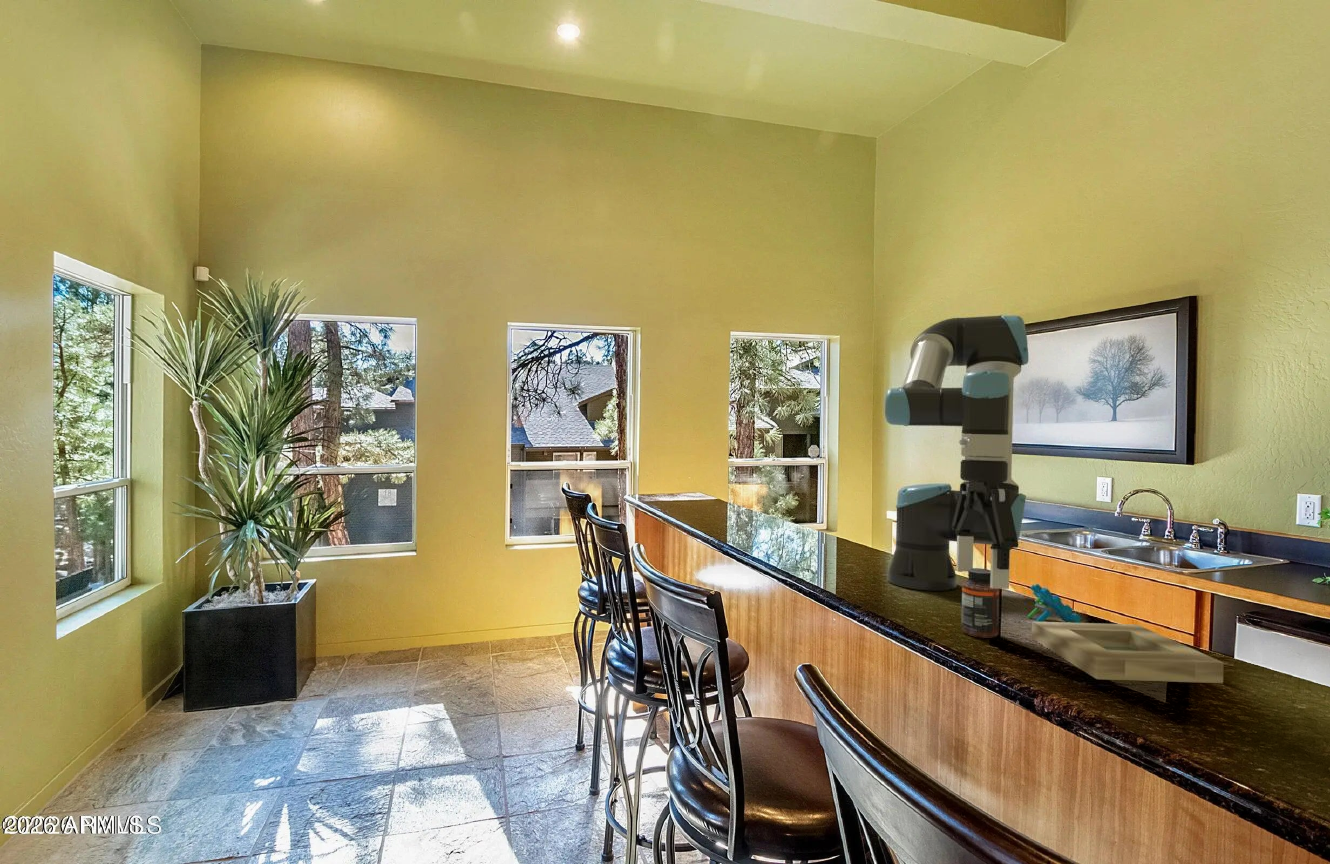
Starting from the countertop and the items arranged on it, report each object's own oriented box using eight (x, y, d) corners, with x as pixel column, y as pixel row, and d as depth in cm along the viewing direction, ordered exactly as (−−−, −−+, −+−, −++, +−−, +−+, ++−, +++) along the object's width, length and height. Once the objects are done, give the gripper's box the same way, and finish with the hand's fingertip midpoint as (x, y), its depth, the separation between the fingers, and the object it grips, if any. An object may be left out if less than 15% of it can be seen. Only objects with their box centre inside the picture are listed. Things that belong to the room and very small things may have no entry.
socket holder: (1031, 638, 113) (1031, 621, 113) (1137, 641, 113) (1137, 624, 113) (1096, 679, 95) (1097, 658, 95) (1223, 683, 95) (1223, 662, 95)
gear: (1095, 626, 116) (1051, 584, 117) (1071, 649, 115) (1027, 606, 117) (1064, 617, 126) (1024, 578, 128) (1042, 638, 126) (1003, 599, 128)
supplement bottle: (988, 629, 118) (990, 567, 118) (1005, 639, 112) (1006, 574, 112) (955, 628, 118) (957, 566, 118) (970, 638, 112) (971, 573, 112)
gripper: (935, 456, 128) (932, 564, 127) (996, 461, 103) (992, 595, 103) (974, 457, 127) (971, 565, 127) (1044, 462, 102) (1041, 597, 102)
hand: (980, 579), depth 115 cm, fingers open, 13 cm apart
